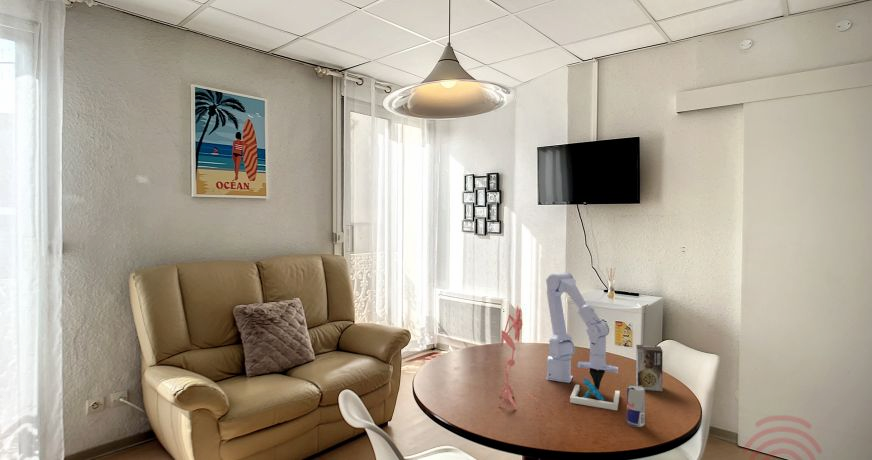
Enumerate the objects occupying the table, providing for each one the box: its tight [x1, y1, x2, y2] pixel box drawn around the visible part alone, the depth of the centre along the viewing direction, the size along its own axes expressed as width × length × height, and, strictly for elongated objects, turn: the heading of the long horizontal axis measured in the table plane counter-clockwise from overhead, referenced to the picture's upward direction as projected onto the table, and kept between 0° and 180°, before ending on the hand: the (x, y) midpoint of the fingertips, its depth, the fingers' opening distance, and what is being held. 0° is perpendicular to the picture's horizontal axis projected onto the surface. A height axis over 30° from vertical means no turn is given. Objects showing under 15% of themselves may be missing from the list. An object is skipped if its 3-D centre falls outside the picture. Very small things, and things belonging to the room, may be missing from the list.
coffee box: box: [635, 344, 664, 392], centre depth 181 cm, size 9×6×16 cm
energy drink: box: [626, 384, 646, 428], centre depth 149 cm, size 5×5×12 cm
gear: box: [582, 377, 605, 401], centre depth 169 cm, size 11×6×10 cm
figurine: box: [495, 305, 539, 414], centre depth 165 cm, size 15×26×35 cm, turn 171°
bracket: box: [569, 383, 621, 411], centre depth 169 cm, size 16×14×2 cm
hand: (597, 388), depth 175 cm, fingers closed
